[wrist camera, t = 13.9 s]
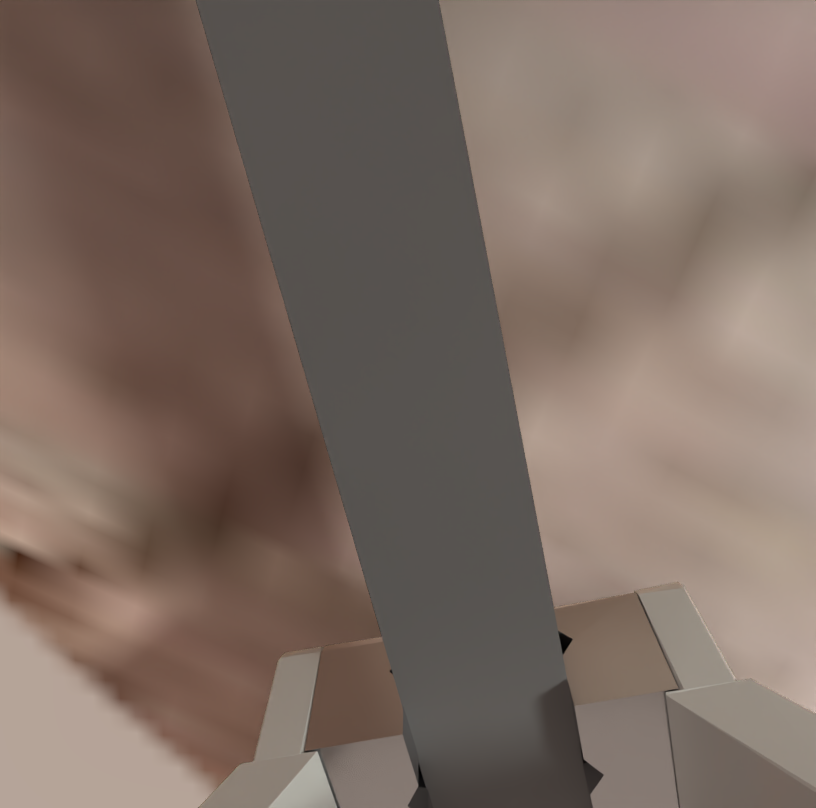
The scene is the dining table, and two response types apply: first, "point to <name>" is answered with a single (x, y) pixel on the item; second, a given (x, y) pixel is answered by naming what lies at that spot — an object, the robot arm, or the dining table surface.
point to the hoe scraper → (407, 375)
